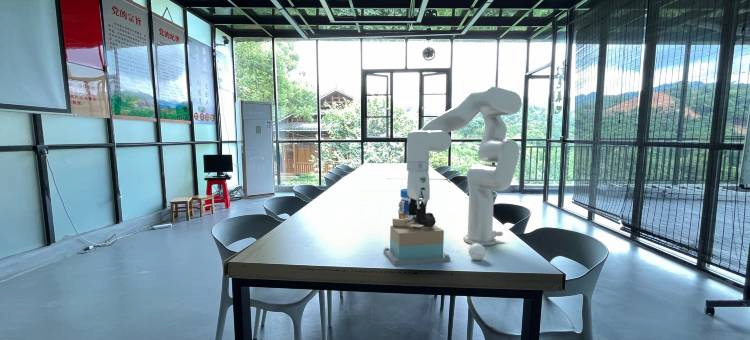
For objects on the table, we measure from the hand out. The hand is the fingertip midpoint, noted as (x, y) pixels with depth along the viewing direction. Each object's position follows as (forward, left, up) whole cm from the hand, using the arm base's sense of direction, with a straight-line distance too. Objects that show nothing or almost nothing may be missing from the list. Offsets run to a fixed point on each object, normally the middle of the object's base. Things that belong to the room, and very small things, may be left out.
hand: (416, 217), depth 113 cm
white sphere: (-20, +9, -14) cm, 26 cm away
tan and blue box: (0, 0, -14) cm, 14 cm away
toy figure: (+1, -1, -4) cm, 4 cm away
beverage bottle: (-6, -24, -14) cm, 29 cm away
